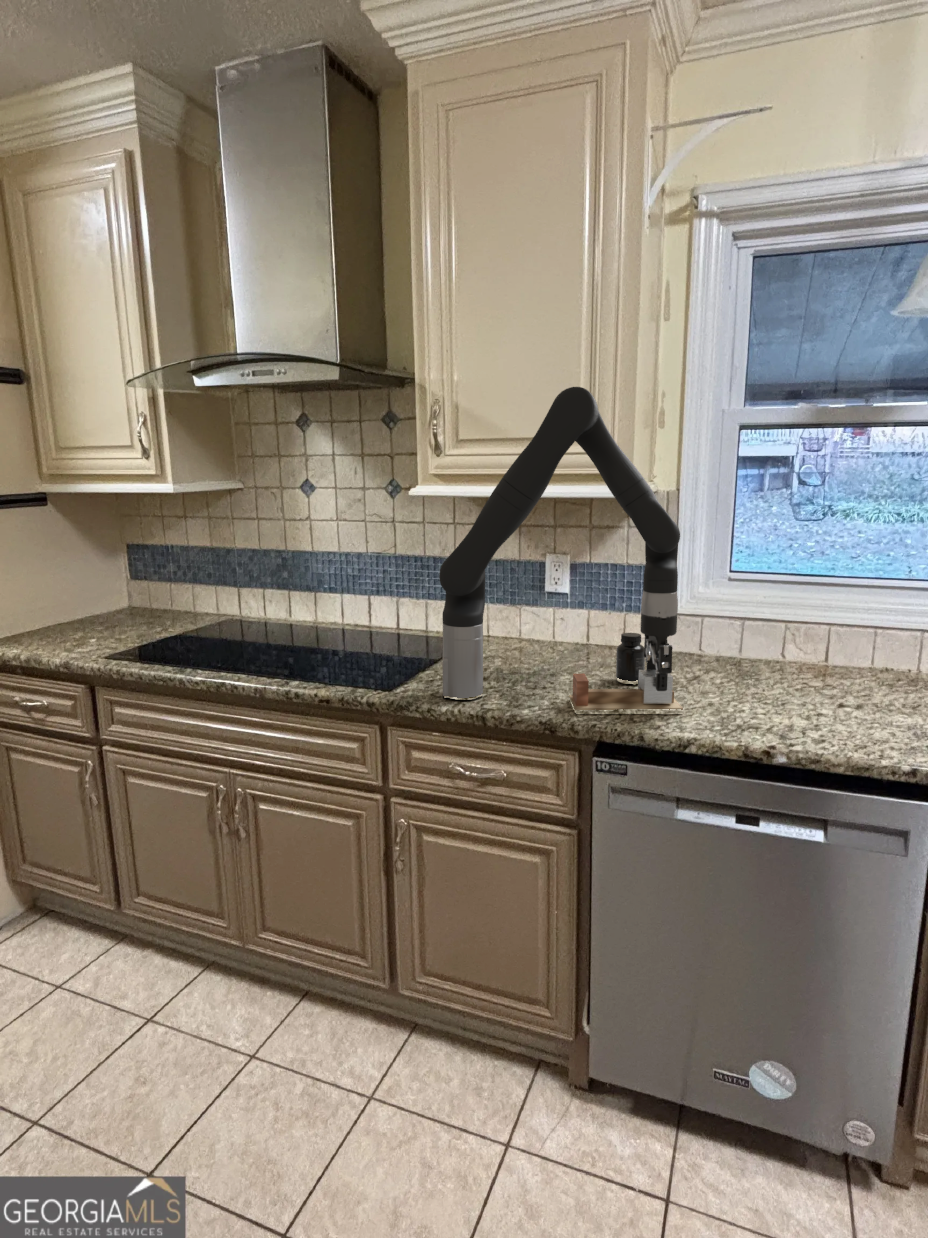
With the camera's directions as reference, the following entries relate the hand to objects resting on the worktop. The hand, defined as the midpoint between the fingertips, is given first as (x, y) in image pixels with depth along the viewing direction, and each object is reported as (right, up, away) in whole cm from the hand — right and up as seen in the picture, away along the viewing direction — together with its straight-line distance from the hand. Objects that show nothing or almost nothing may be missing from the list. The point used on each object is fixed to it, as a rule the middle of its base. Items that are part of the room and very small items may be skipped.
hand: (656, 684), depth 158 cm
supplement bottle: (-1, -1, +21) cm, 21 cm away
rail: (-7, -5, +1) cm, 9 cm away
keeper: (0, -3, +1) cm, 3 cm away
